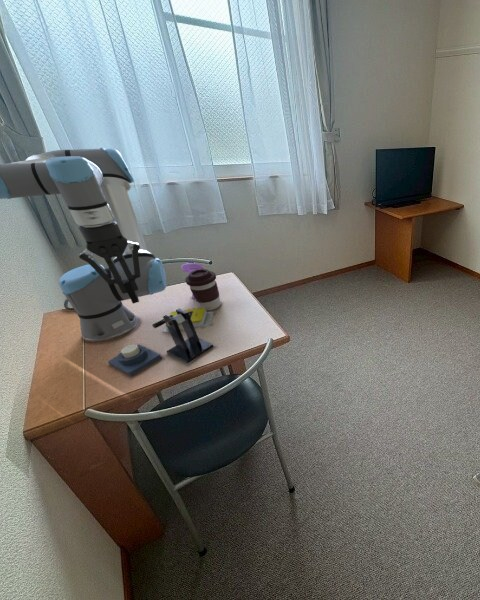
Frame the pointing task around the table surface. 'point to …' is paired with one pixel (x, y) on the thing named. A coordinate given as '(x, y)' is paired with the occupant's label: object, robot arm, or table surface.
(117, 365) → the button block
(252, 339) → the table surface
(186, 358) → the stand
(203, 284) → the coffee cup
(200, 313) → the yellow grey flat box
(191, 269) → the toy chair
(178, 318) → the lever
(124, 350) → the button
